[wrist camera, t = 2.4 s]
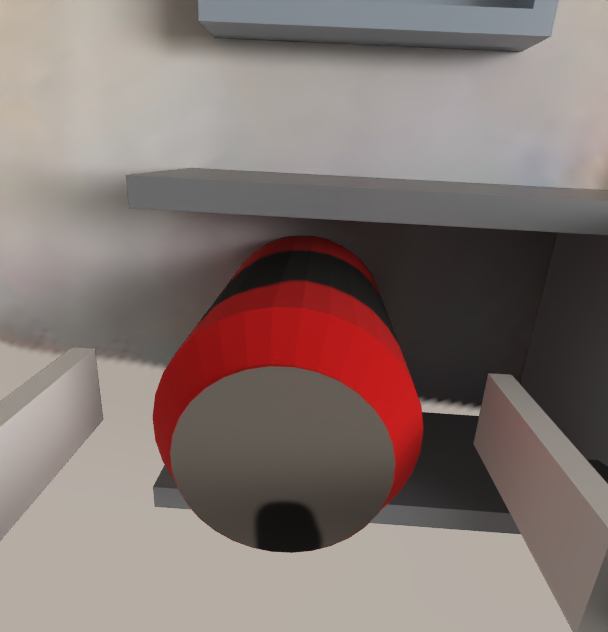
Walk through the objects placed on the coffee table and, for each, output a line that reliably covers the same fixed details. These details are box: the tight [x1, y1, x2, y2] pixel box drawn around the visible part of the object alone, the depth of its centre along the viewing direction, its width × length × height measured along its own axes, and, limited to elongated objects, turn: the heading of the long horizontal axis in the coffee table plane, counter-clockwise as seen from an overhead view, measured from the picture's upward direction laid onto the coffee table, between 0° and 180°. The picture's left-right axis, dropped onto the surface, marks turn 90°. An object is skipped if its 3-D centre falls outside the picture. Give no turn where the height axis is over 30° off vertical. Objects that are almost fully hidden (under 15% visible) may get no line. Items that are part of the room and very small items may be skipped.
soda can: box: [153, 236, 424, 553], centre depth 17 cm, size 8×8×12 cm
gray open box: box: [126, 168, 608, 534], centre depth 17 cm, size 13×20×12 cm, turn 87°
